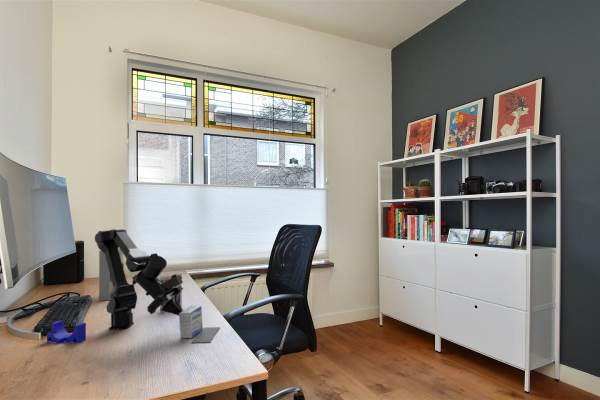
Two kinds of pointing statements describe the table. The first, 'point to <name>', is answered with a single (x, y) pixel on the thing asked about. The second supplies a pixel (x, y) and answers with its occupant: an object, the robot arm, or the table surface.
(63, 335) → the blue notched block
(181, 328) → the medicine box
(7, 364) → the table surface
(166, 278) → the greeting card
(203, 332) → the pad
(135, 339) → the table surface
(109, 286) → the tall grey pillar
